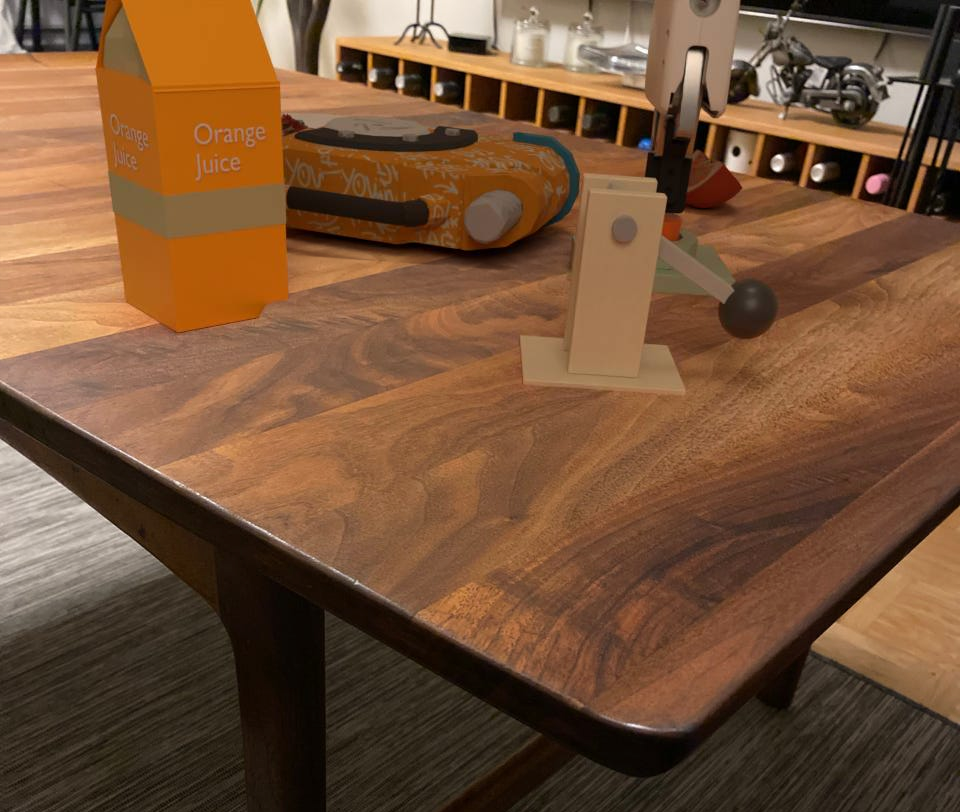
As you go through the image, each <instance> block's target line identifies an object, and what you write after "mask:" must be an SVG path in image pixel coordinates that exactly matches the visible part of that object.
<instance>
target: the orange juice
mask: <svg viewBox="0 0 960 812" xmlns="http://www.w3.org/2000/svg"><path fill="white" fill-rule="evenodd" d="M104 6H105V7H104V13H103V18H102V19H103V20H102V27H101V33H100V37H99V38H100V40H99V46H98V51H97V58H96V65H95V67H94V70H95V78H96V86H97V93H98V99H99V107H100V116H101V123H102V131H103V138H104V145H105V155H106V161H107V169H108V170H107V175H108V181H109V182H108V183H109V188H110V189H109V190H110V197H111V198H110V199H111V207H112V212H113V214H114V222H115V230H116V237H117V245H118V252H119V260H120V268H121V276H122V282H123V284H122V285H123V291H124V298H125V302H126V303H128V304H129V305H131V306H133V307H134V308H136V309H138V310H139V311H141V312H142V313H145V314H146V315H147V316H149V317H151V318H152V319H154V320H155V321H158V322H159V323H161V324H162V325H164V326H165V327H168V328H169V329H171V330H172V331H174V332H175V333H183V332H189V331H193V330H198V329H204V328H208V327H209V328H210V327H214V326H219V325H225V324H231V323H236V322H241V321H247V320H252V319H257V318H259V317H260V316H261V314H262V312H263V310H264V309H265V307H266V306H267V304H269V303H270V304H271V303H275V302H281V301H287V300H289V278H288V276H289V275H288V253H287V251H288V250H287V249H288V248H287V229H286V202H285V183H284V173H283V148H282V122H281V113H282V102H281V101H282V100H281V81H280V80H279V78H278V76H277V74H276V71H275V67H274V64H273V62H272V58H271V56H270V53H269V50H268V48H267V44H266V42H265V38H264V36H263V32H262V30H261V26H260V23H259V20H258V17H257V14H256V12H255V10H254V7H253V6H254V5H253V4H252V1H251V0H105V5H104Z"/></svg>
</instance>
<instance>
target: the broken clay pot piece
mask: <svg viewBox="0 0 960 812" xmlns="http://www.w3.org/2000/svg"><path fill="white" fill-rule="evenodd" d="M742 190H743V187H742V184H741V183H740V181H739V180H738V179H737V178H736V177H735V175H734V174H733V173H732V172H731V171H730V169H729V168H728V167H727V166H726V164H724V163H723V162H722V161H720V160H718V159H717V157H715V156H714V157H713V158H711V157H710V158H709V157H708V156H707V154H705V152H703V151H702V150H700V149H696V150H695V151H693V154H692V165H691V171H690V177H689V184H688V190H687V196H686V203H685V204H688V205H689V206H690V207H694V208H699V209H708V208H713V207H716V206H719V205H723V204H725V203H727V202H728V201H730V200H731V199H733V198H734V197H735V196H737V194H739V193H740V192H741V191H742Z"/></svg>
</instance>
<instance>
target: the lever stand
mask: <svg viewBox="0 0 960 812" xmlns="http://www.w3.org/2000/svg"><path fill="white" fill-rule="evenodd" d="M610 182H613V183H614V184H616V185H617V186H618V187H620V188H621V189H622V190H612V189H606V188H607V186H608V185H609V183H610ZM657 184H658V182H657V180H656V179H655V178H646V177H645V176H644V177H643V176H632V175H617V174H604V173H589V172H583V173H582V177H581V188H580V195H579V203H578V212H577V221H576V231H575V236H576V238H575V246H574V255H573V263H572V269H571V273H570V282H569V291H568V297H567V298H568V299H567V308H566V315H565V324H564V333H563V337H552V336H550V337H549V336H536V335H523V334H522V335H519V352H520V353H519V354H520V365H521V367H520V368H521V378H522V385H524V386H537V387H538V386H540V387H555V388H568V389H583V390H598V391H615V392H630V393H641V394H643V393H644V394H658V395H661V394H662V395H672V396H686V394H687V388H686V386H685V384H684V382H683V380H682V377H681V375H680V372H679V369H678V367H677V365H676V363H675V360H674V358H673V356H672V353H671V350H670V347H669V345H667V344H654V343H645V337H646V331H647V325H648V318H649V314H650V313H649V312H650V306H651V301H652V293H653V292H652V289H653V283H654V276H655V270H656V264H657V258H658V252H659V246H660V240H661V233H662V227H663V221H664V215H665V209H666V203H667V196H666V195H665V194H664V193H656V190H657Z"/></svg>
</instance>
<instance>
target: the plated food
mask: <svg viewBox="0 0 960 812" xmlns="http://www.w3.org/2000/svg"><path fill="white" fill-rule="evenodd" d="M348 116H349V115H343V114H342V115H341V114H329V113H311V112H308V113H307V112H306V113H305V112H304V113H303V112H281V122H282V137H284V136H287V135H290V134H293V133H296V132H298V131H301V130H304V129H307V128H310V129H316V128H319V127H322V126H325V125H326V124H327V123H328V122H329V121H330V120H332V119H333V118H341V117H348Z"/></svg>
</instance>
